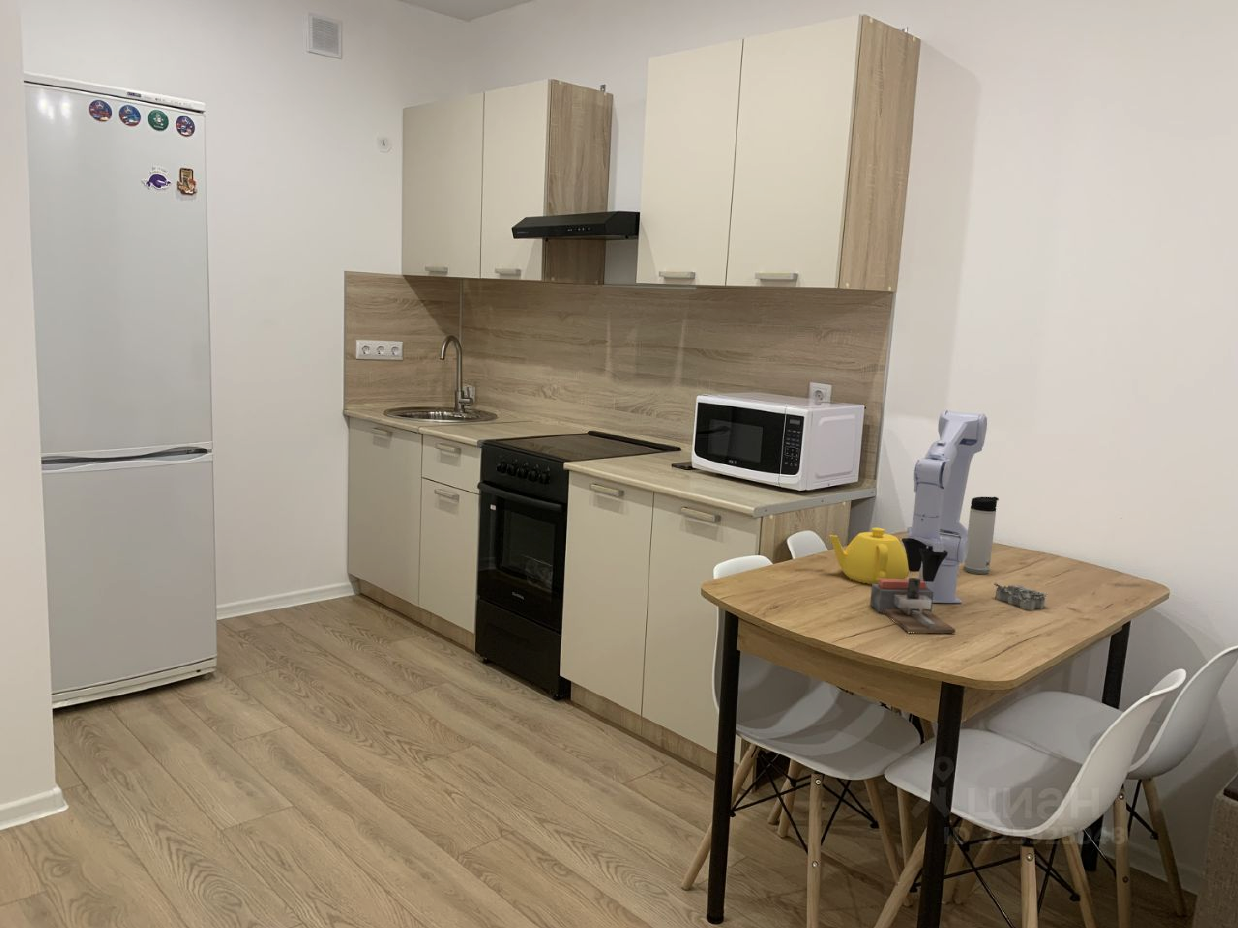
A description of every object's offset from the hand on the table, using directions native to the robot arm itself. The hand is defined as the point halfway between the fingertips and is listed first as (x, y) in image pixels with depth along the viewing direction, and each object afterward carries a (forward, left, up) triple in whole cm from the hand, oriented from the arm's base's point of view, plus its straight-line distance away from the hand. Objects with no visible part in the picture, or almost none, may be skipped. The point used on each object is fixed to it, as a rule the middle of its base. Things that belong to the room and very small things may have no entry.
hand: (921, 576), depth 204 cm
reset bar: (-6, -1, -4) cm, 8 cm away
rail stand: (+1, -1, -9) cm, 10 cm away
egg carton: (-12, +30, -10) cm, 34 cm away
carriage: (0, -1, -8) cm, 8 cm away
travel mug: (-39, +34, -10) cm, 53 cm away
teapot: (-30, 0, -10) cm, 32 cm away
